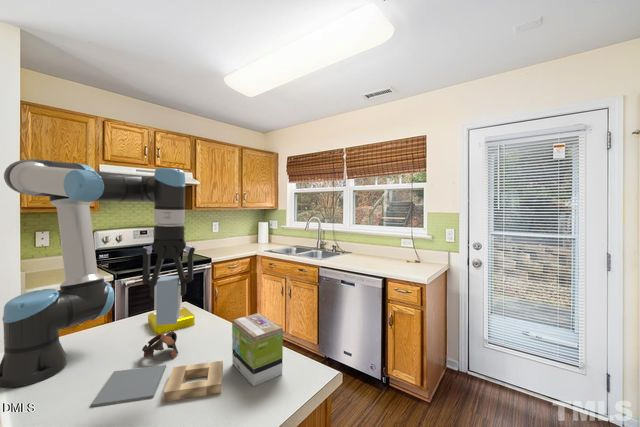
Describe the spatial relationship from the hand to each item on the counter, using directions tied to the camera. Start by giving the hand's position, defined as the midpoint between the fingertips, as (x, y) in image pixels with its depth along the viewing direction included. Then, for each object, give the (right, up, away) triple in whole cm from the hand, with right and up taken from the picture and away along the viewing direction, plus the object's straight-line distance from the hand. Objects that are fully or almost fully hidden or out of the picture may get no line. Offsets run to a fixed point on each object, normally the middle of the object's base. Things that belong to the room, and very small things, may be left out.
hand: (168, 307), depth 83 cm
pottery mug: (-10, -21, +16) cm, 29 cm away
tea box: (+23, -22, +8) cm, 33 cm away
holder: (+7, -22, +1) cm, 23 cm away
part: (0, -4, 0) cm, 4 cm away
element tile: (-20, -21, +41) cm, 50 cm away
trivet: (-10, -22, 0) cm, 24 cm away
